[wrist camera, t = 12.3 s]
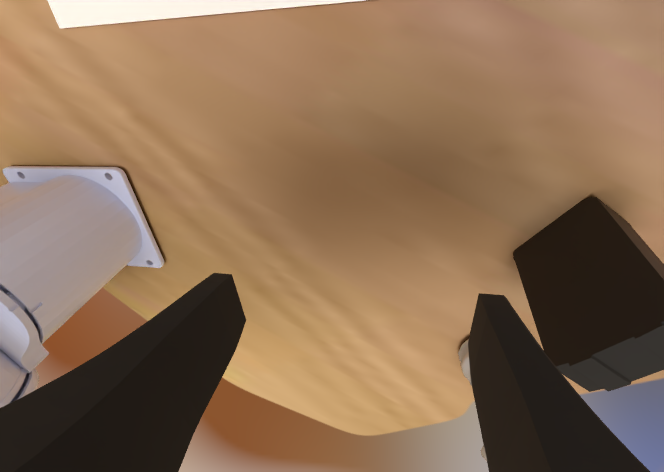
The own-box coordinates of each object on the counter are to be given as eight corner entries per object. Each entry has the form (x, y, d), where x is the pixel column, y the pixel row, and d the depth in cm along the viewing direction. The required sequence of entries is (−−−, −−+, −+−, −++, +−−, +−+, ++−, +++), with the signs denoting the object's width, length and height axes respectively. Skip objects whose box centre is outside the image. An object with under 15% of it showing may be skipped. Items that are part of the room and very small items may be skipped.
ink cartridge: (539, 271, 20) (591, 400, 14) (510, 251, 20) (551, 374, 14) (624, 217, 18) (737, 348, 11) (592, 193, 17) (692, 314, 11)
